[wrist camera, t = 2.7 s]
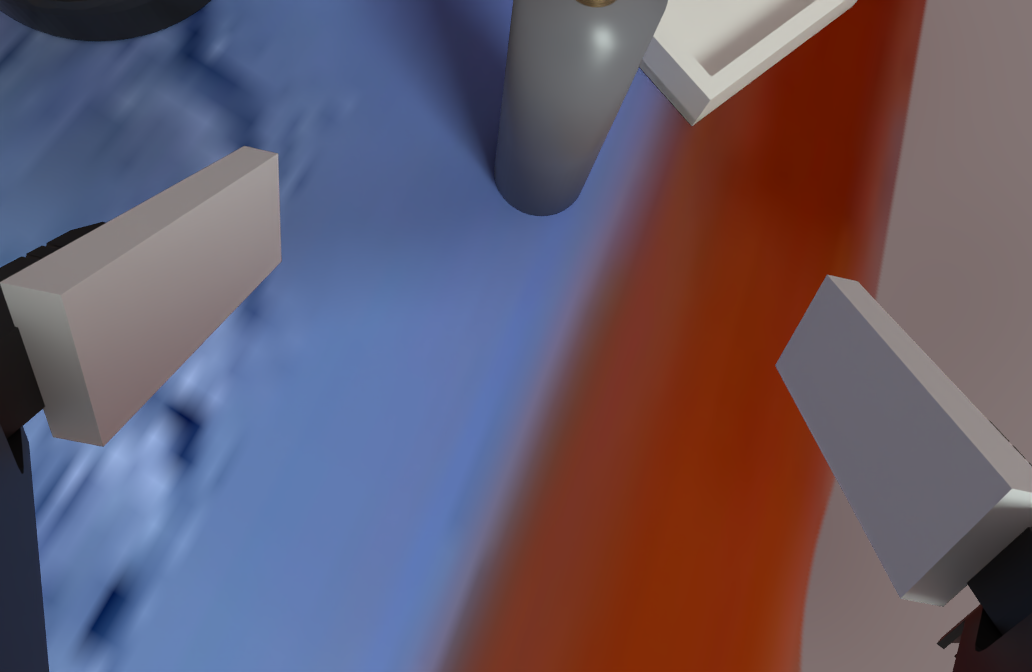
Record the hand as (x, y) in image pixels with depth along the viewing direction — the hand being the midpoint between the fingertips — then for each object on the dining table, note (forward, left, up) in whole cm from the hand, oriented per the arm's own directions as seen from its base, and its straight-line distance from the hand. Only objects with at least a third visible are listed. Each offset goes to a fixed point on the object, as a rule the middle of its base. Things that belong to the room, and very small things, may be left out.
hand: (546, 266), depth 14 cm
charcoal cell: (-7, +8, -16) cm, 19 cm away
